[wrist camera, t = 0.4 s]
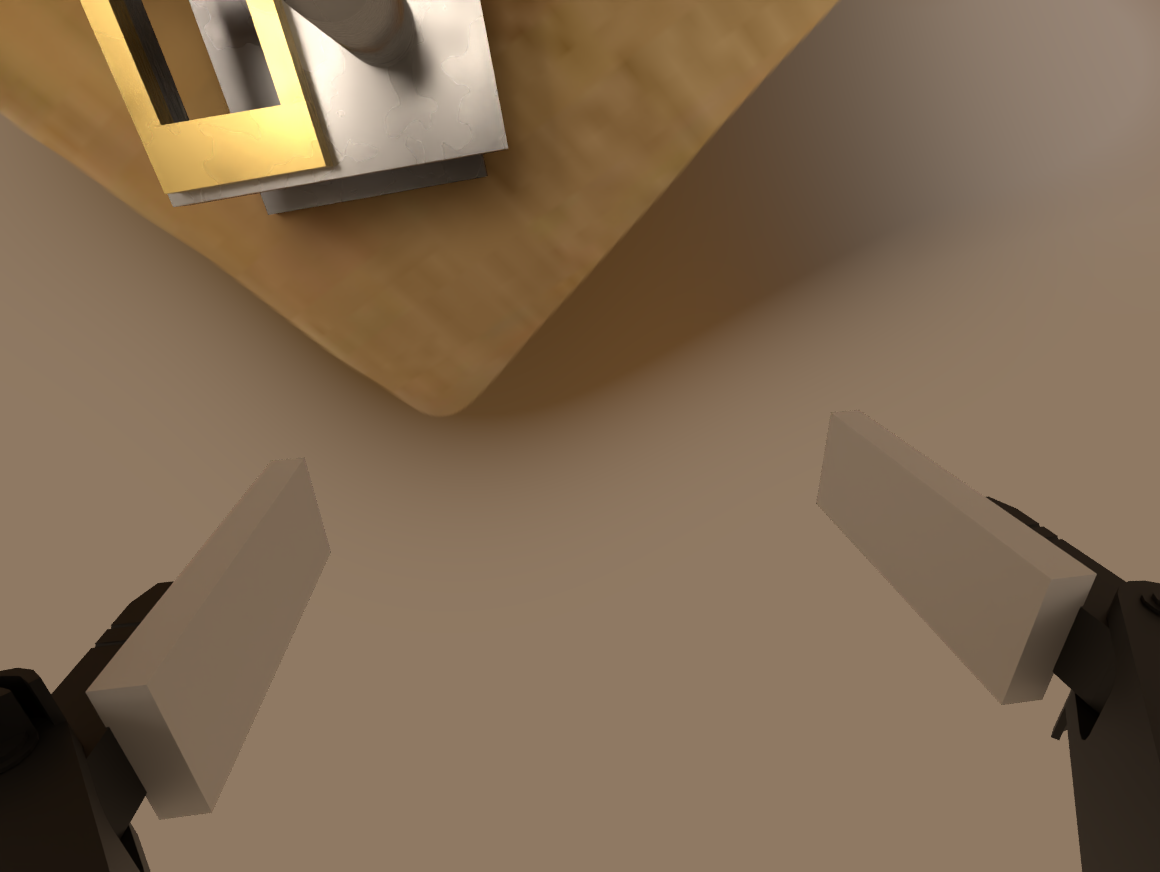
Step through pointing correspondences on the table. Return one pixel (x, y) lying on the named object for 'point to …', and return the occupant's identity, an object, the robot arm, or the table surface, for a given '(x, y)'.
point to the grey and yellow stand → (313, 98)
